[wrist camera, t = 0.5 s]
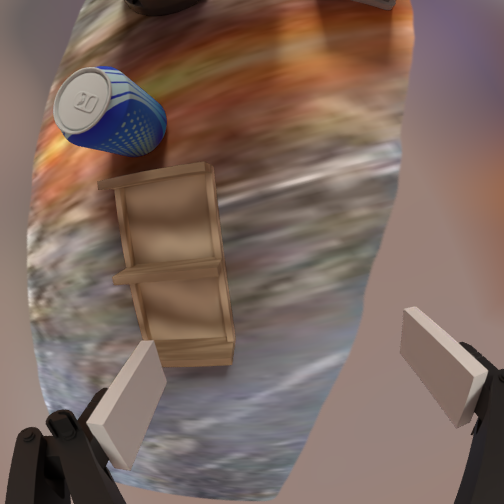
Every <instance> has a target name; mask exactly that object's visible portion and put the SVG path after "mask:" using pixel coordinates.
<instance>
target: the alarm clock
mask: <svg viewBox="0 0 504 504" xmlns="http://www.w3.org/2000/svg"><path fill="white" fill-rule="evenodd" d="M352 1H356V2H360V3H364V4H368V5H371V6H375V7H378V8H381V9H385V10H391V9H392V8H393V6H394V5H395V4H396V2H395V0H352Z"/></svg>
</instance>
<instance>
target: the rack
mask: <svg viewBox="0 0 504 504" xmlns="http://www.w3.org/2000/svg"><path fill="white" fill-rule="evenodd" d="M97 184H98V190H107V189H114V192H115V200H116V208H117V215H118V222H119V229H120V235H121V242H122V247H123V253H124V259H125V264H126V269H124V270H123V271H121V272H119V273H118V274H116V275H115V276H113V277H112V279H113V283H114V285H123V284H130V289H131V293H132V298H133V302H134V307H135V311H136V315H137V319H138V323H139V327H140V331H141V334H142V338H143V341H148V340H154V342H155V346H156V349H157V353H158V356H159V359H160V362H161V365H162V367H198V366H221V365H232V363H233V355H234V348H235V340H236V337H235V330H234V323H233V316H232V309H231V302H230V295H229V288H228V280H227V273H226V265H225V258H224V250H223V242H222V234H221V226H220V218H219V209H218V201H217V192H216V184H215V175H214V166H212V165H210V164H208V163H206V162H205V161H203V162H196V163H190V164H183V165H177V166H171V167H165V168H160V169H154V170H149V171H144V172H139V173H134V174H129V175H124V176H119V177H115V178H110V179H106V180H101V181H97Z"/></svg>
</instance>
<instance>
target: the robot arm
mask: <svg viewBox="0 0 504 504" xmlns="http://www.w3.org/2000/svg"><path fill="white" fill-rule="evenodd" d="M198 1H200V0H125V2H126V3H127V4H128V6H129V7H130V8H131V9H132V10H133V11H135V12H137V13H140V14H143V15H149V16H158V15H166V14H171V13H174V12H178V11H181V10H183V9H186V8H188V7H190V6H192V5H194V4H195V3H197V2H198ZM400 354H401V355H402V356H403V358H404V359H405V360H406V361H407V363H408V364H409V365H410V367H411V368H412V369H413V371H414V372H415V373H416V374H417V376H418V377H419V378H420V380H421V381H422V382H423V384H424V385H425V386H426V388H427V389H428V390H429V392H430V393H431V394H432V396H433V397H434V399H435V400H436V401H437V403H438V404H439V405H440V407H441V408H442V409H443V411H444V412H445V414H446V415H447V416H448V418H449V419H450V421H451V422H452V423H453V425H454V426H455V428H459V427H461V426H463V425H465V424H467V423H469V422H470V421H471V418H472V416H473V413H474V412H475V413H476V414H477V416H478V420H477V422H476V424H475V426H474V428H473V431H472V433H471V435H473V434H474V435H473V440H472V444H471V448H470V453H469V457H468V460H467V464H466V468H465V471H464V475H463V478H462V481H461V484H460V487H459V490H458V493H457V496H456V499H455V502H454V504H504V369H501V370H498V369H497V368H496V367H495V366H494V365H493V364H491V363H490V362H489V361H488V360H487V359H486V358H485V357H484V356H483V357H482V355H481V354H480V353H479V352H477V350H476V349H475V348H473V347H472V346H471V345H469V344H467V343H464V342H460V343H457V342H456V341H455V340H454V339H453V338H452V337H451V336H450V335H448V334H447V333H446V332H445V331H444V330H443V329H441V328H440V327H439V326H438V325H437V324H436V323H435V322H434V321H432V320H431V319H430V318H429V317H428V316H426V315H425V314H424V313H423V312H422V311H421V310H419V309H418V308H417V307H416V306H415V307H411V308H406V309H404V311H403V325H402V337H401V347H400ZM166 383H167V381H166V378H165V375H164V372H163V369H162V365H161V362H160V359H159V356H158V353H157V349H156V346H155V342H154V340H148V341H140V343H139V344H138V346H137V347H136V349H135V350H134V352H133V353H132V354H131V356H130V357H129V359H128V360H127V362H126V363H125V365H124V366H123V368H122V369H121V371H120V372H119V374H118V375H117V376H116V378H115V379H114V381H113V382H112V384H111V385H110V387H109V388H103V389H101V390H100V391H99V392H97V393H96V394H95V396H94V397H93V399H92V400H91V402H90V403H89V404H88V406H87V407H86V409H85V410H84V412H83V413H82V415H81V416H80V417H79V419H78V420H77V419H76V418H75V416H74V414H73V413H72V412H71V411H69V410H58V411H56V412H53V413H52V414H51V415H49V416H48V418H47V420H46V425H47V427H48V428H49V430H50V432H51V433H52V435H53V436H43V435H42V433H41V432H40V430H39V429H38V428H35V427H29V428H26V429H24V430H22V431H21V432H20V433H19V434H18V437H17V440H16V444H15V448H14V453H13V458H12V463H11V468H10V473H9V479H8V486H7V493H6V501H5V504H71V500H70V499H71V498H70V494H71V497H72V500H73V503H74V504H126V502H125V500H124V499H123V497H122V495H121V493H120V491H119V489H118V487H117V485H116V483H115V482H114V480H113V478H112V476H111V474H110V471H109V470H108V468H107V467H106V465H107V463H108V460H109V461H110V462H111V463H112V465H113V466H114V468H117V469H123V470H129V471H131V468H132V466H133V463H134V461H135V458H136V456H137V453H138V451H139V448H140V446H141V443H142V441H143V438H144V436H145V433H146V431H147V429H148V426H149V424H150V421H151V419H152V416H153V414H154V412H155V409H156V407H157V404H158V402H159V400H160V397H161V395H162V393H163V390H164V388H165V386H166Z"/></svg>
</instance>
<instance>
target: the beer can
mask: <svg viewBox="0 0 504 504" xmlns="http://www.w3.org/2000/svg"><path fill="white" fill-rule="evenodd" d="M53 115H54V120H55V123H56V125H57V126H58V127H59V129H60V130H61V131H62V133H63V135H64V136H65V138H66V139H67V140H68V141H69V142H71V143H73V144H75V145H77V146H81V147H86V148H91V149H96V150H101V151H105V152H110V153H115V154H119V155H124V156H128V157H139V156H143V155H145V154H147V153H149V152H151V151H152V150H154V149H155V148H156V147H157V146H158V144H159V143H160V142H161V140H162V139H163V137H164V134H165V131H166V126H167V118H166V114H165V111H164V109H163V107H162V106H161V105H160V104H159V103H158V102H157V101H156V100H155V99H153V98H152V97H151V96H150V95H149V94H147V93H146V92H145V91H144V90H143V89H141V88H140V87H139V86H138V85H137V84H135V83H134V82H133V81H132V80H130V79H129V78H128V77H127V76H125V75H124V74H123V73H122V72H120V71H119V70H117V69H115V68H113V67H108V66H100V67H88V68H83V69H81V70H78V71H77V72H75V73H73V74H72V75H71V76H70V77H69V78H68V79H67V80H66V81H65V82H64V83H63V84H62V86H61V87H60V89H59V91H58V93H57V95H56V98H55V101H54V107H53Z"/></svg>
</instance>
